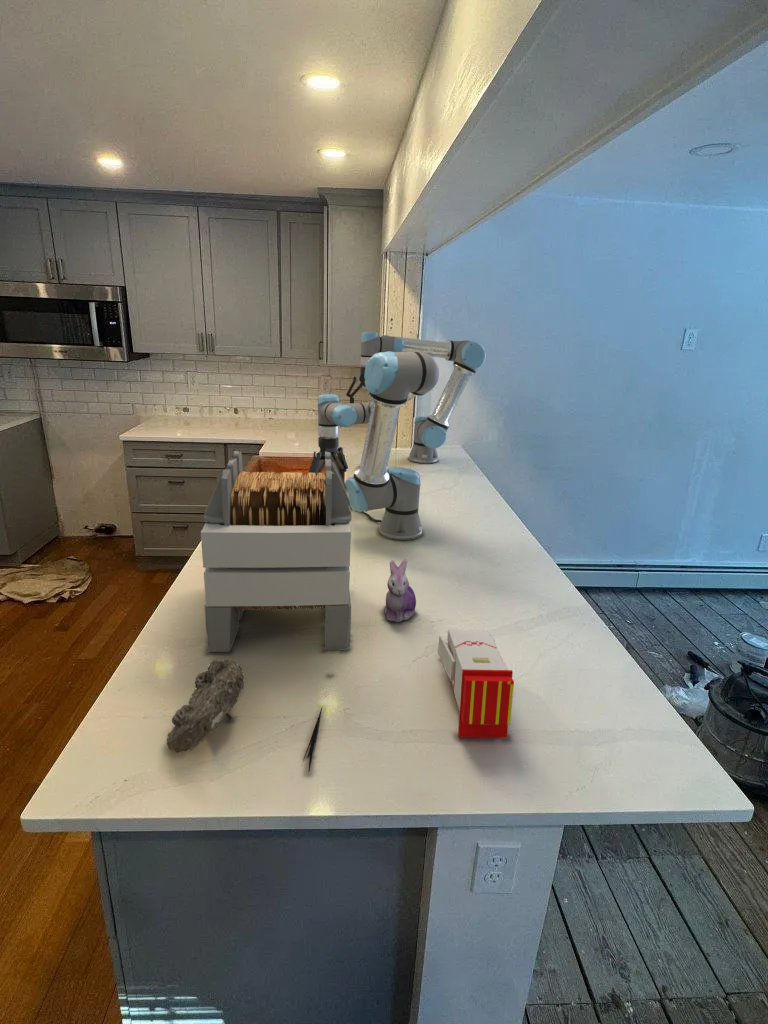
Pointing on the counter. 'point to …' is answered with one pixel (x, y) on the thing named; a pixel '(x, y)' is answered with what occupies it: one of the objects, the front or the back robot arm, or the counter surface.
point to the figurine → (399, 594)
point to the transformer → (277, 549)
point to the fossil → (206, 705)
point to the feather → (313, 740)
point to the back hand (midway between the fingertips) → (367, 411)
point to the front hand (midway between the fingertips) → (328, 491)
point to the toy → (478, 682)
